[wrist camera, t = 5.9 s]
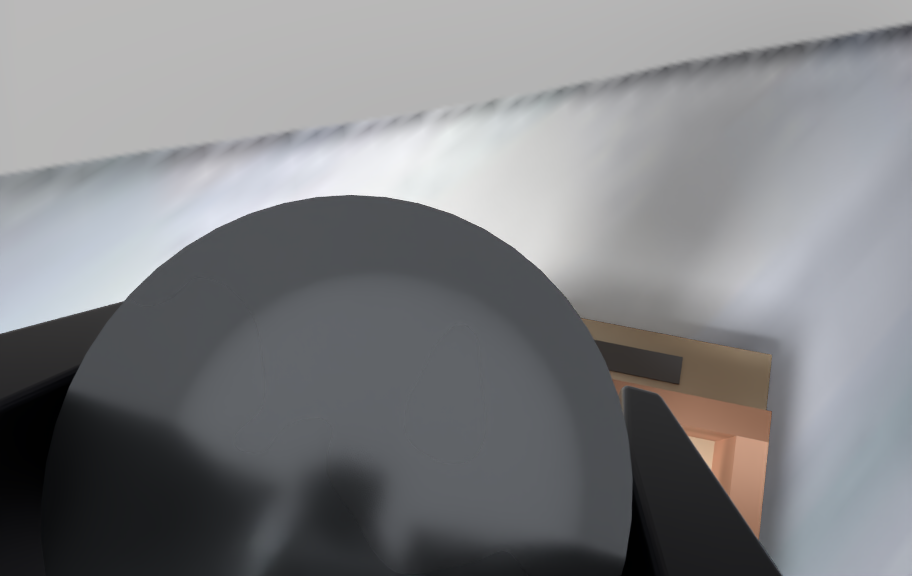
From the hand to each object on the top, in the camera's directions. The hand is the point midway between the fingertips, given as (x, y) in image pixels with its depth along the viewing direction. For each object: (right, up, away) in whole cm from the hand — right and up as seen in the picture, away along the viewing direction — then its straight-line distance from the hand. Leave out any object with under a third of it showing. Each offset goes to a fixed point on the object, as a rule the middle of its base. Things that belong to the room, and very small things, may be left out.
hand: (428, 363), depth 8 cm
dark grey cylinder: (0, -3, +5) cm, 6 cm away
